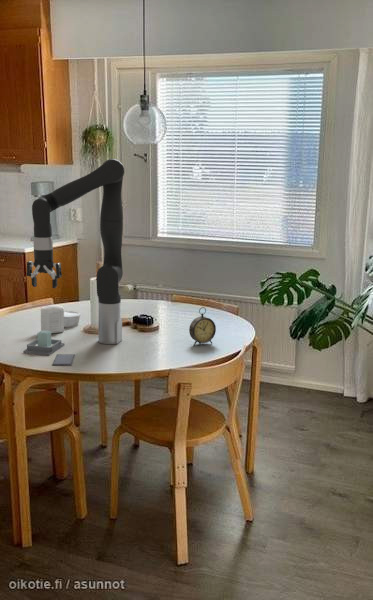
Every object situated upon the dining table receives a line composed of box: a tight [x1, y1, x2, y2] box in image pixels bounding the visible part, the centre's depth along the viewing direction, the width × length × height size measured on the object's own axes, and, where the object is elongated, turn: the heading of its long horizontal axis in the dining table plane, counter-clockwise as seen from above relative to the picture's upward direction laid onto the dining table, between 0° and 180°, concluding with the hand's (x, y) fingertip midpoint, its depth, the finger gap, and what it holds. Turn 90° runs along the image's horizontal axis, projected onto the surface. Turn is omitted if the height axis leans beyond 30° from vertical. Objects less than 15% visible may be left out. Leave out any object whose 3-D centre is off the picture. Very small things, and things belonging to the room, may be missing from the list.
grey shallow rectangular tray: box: [22, 337, 66, 356], centre depth 236 cm, size 11×14×3 cm
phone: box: [51, 353, 76, 367], centre depth 224 cm, size 7×12×1 cm, turn 4°
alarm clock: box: [188, 306, 217, 347], centre depth 248 cm, size 11×5×16 cm, turn 117°
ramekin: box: [64, 310, 81, 328], centre depth 271 cm, size 11×11×5 cm
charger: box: [37, 330, 52, 347], centre depth 236 cm, size 4×4×6 cm
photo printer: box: [40, 304, 65, 334], centre depth 258 cm, size 10×4×12 cm, turn 123°
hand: (44, 287), depth 240 cm, fingers open, 8 cm apart
